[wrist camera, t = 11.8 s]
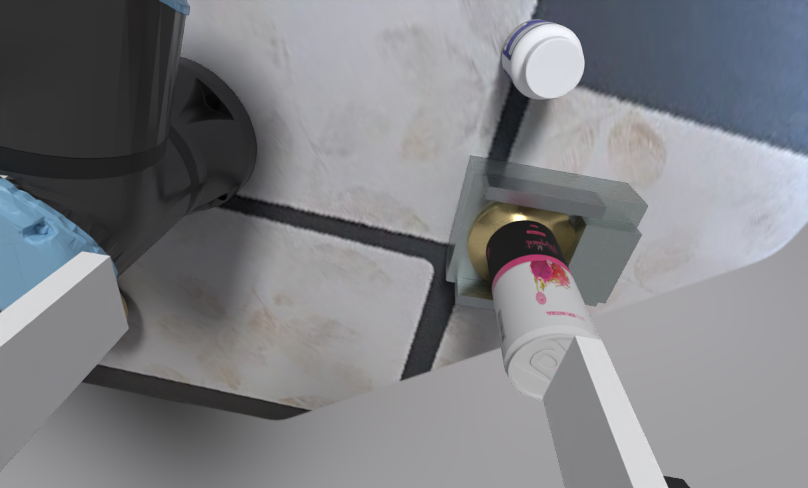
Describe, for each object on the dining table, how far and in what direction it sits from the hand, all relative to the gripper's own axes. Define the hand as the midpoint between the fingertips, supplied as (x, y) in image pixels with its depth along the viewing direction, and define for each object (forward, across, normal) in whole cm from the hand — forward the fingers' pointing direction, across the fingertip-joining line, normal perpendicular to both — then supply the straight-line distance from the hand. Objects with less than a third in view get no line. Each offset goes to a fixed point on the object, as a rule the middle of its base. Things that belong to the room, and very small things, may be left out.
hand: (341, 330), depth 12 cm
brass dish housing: (+32, +15, -11) cm, 37 cm away
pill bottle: (+32, +10, +5) cm, 34 cm away
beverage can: (+26, +13, -11) cm, 31 cm away
